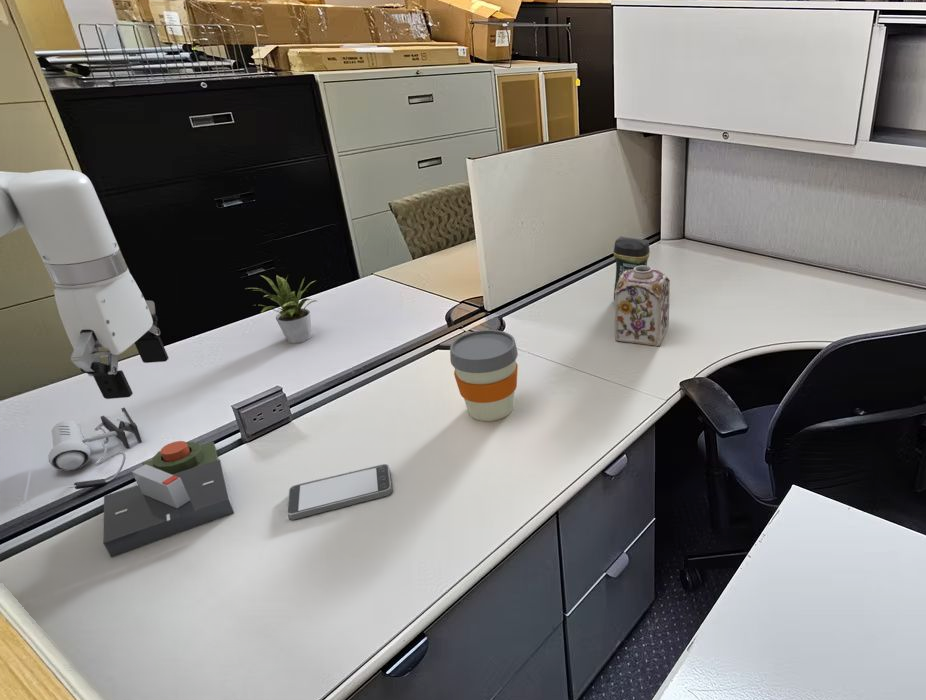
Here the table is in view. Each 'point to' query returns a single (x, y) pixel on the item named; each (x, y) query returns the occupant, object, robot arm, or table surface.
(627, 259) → the coffee jar
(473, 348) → the reusable coffee cup
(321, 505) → the smartphone
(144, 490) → the bevelled grey block
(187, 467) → the button housing
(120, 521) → the dial base
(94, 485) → the clip-on lamp
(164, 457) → the button
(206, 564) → the table surface
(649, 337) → the decorative jar
